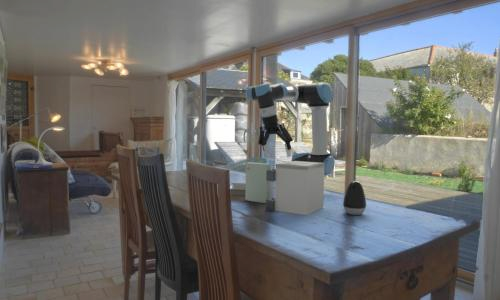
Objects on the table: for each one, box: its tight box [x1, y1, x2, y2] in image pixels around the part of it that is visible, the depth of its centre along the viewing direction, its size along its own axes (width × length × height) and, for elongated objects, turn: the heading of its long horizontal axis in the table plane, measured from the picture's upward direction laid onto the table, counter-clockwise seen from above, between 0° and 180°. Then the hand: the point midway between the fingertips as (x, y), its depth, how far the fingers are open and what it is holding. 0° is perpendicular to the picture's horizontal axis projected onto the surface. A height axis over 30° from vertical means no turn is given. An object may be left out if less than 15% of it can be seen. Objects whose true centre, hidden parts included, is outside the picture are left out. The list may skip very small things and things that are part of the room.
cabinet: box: [274, 161, 325, 216], centre depth 185 cm, size 20×16×22 cm
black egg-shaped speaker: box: [342, 180, 367, 216], centre depth 177 cm, size 10×10×15 cm
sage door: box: [244, 161, 271, 204], centre depth 203 cm, size 4×13×20 cm, turn 57°
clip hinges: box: [265, 168, 276, 212], centre depth 184 cm, size 7×4×19 cm, turn 147°
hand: (278, 156), depth 194 cm, fingers open, 13 cm apart
